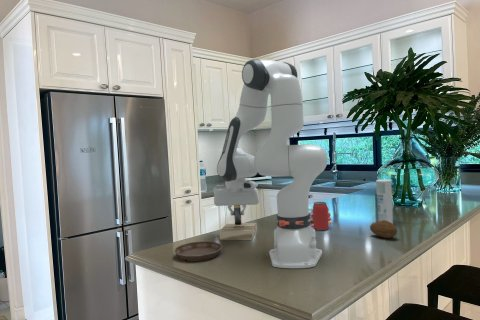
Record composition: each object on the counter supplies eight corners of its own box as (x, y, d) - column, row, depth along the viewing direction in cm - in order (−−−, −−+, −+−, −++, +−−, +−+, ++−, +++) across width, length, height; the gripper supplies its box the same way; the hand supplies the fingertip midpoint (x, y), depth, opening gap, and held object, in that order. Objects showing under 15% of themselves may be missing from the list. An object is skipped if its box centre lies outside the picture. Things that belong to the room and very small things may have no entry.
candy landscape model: (292, 231, 163) (291, 210, 162) (271, 221, 185) (270, 203, 185) (339, 223, 171) (338, 204, 171) (314, 215, 193) (313, 198, 193)
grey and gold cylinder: (240, 225, 157) (239, 204, 157) (234, 225, 158) (232, 205, 158) (242, 223, 160) (240, 203, 160) (235, 223, 161) (234, 203, 160)
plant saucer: (232, 253, 134) (231, 245, 134) (193, 267, 122) (193, 258, 122) (203, 246, 147) (202, 238, 147) (166, 257, 135) (165, 249, 135)
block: (252, 239, 151) (251, 230, 151) (219, 240, 154) (219, 231, 153) (257, 231, 164) (256, 223, 164) (227, 232, 167) (226, 223, 167)
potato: (376, 233, 148) (375, 216, 148) (403, 238, 139) (402, 220, 139) (366, 236, 144) (365, 219, 144) (393, 242, 135) (392, 223, 135)
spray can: (396, 224, 161) (394, 180, 161) (384, 225, 160) (382, 181, 159) (386, 221, 168) (384, 179, 167) (375, 223, 166) (372, 180, 165)
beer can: (329, 230, 158) (327, 203, 157) (313, 230, 159) (312, 204, 159) (328, 227, 164) (327, 201, 164) (313, 227, 166) (312, 201, 165)
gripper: (210, 186, 157) (213, 217, 158) (256, 184, 153) (258, 216, 154) (214, 184, 163) (216, 214, 164) (258, 182, 159) (261, 212, 160)
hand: (237, 215), depth 159 cm, fingers closed on grey and gold cylinder, 3 cm apart
